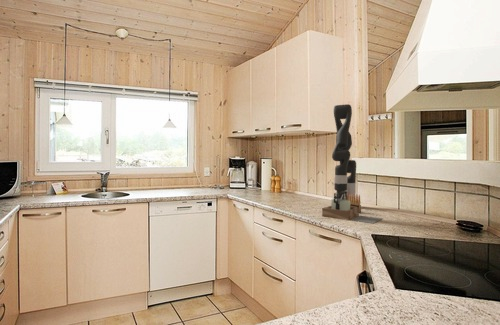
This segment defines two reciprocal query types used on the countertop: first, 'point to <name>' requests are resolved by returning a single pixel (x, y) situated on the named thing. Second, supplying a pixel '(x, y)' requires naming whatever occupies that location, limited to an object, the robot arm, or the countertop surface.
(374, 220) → the rubber mat
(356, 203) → the ammunition clip
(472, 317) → the countertop surface
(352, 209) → the walnut box
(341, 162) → the robot arm
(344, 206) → the pale green rectangular block
